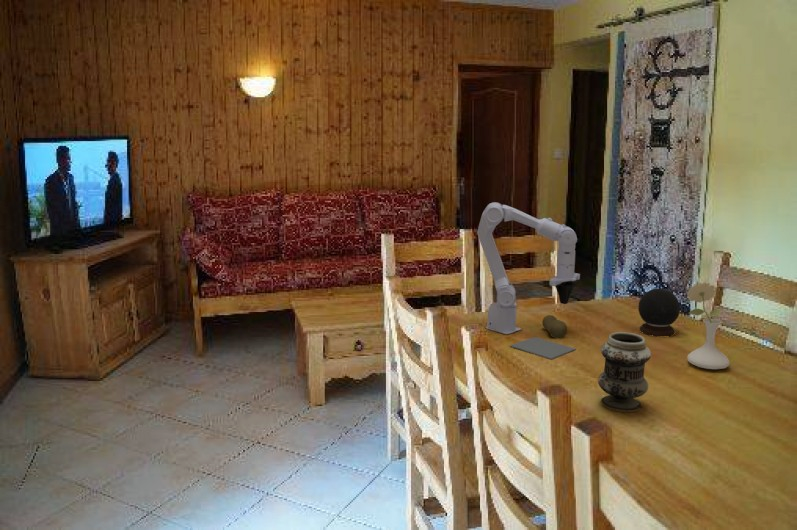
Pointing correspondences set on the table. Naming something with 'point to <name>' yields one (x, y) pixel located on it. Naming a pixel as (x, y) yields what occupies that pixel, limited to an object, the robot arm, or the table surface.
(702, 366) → the flower in vase
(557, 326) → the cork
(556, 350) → the topple mat
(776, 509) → the table surface
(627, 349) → the apothecary jar
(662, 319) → the black ball on stand
